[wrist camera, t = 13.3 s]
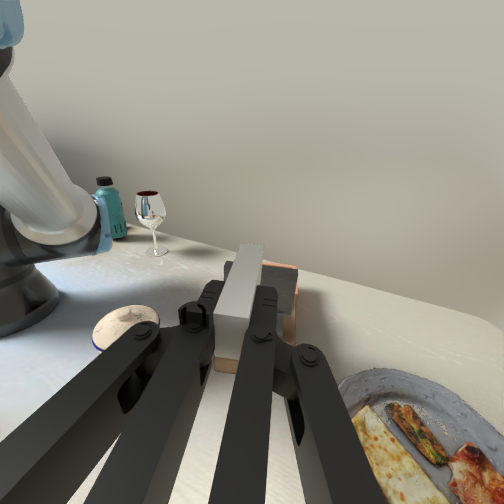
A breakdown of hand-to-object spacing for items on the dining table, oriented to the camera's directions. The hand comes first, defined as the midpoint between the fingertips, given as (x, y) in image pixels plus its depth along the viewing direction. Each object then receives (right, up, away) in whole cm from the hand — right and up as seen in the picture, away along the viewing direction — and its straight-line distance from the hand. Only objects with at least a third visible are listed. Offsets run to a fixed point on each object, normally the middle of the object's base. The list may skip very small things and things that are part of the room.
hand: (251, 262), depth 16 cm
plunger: (+1, -8, +24) cm, 26 cm away
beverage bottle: (-45, +5, +64) cm, 78 cm away
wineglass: (-29, +1, +57) cm, 65 cm away
